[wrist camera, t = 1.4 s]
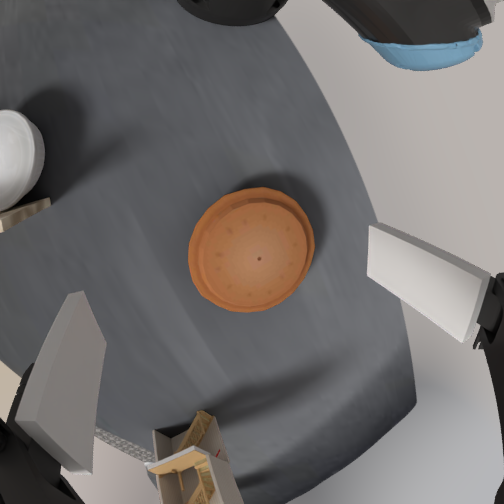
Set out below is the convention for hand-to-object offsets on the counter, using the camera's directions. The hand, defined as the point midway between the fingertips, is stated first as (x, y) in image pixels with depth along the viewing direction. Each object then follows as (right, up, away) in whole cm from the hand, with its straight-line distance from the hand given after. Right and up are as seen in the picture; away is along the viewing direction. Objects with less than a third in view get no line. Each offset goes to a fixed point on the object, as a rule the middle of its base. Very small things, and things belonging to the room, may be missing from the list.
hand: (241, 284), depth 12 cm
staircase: (-12, -30, +32) cm, 46 cm away
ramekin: (-28, +13, +12) cm, 33 cm away
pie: (0, +2, +25) cm, 25 cm away
